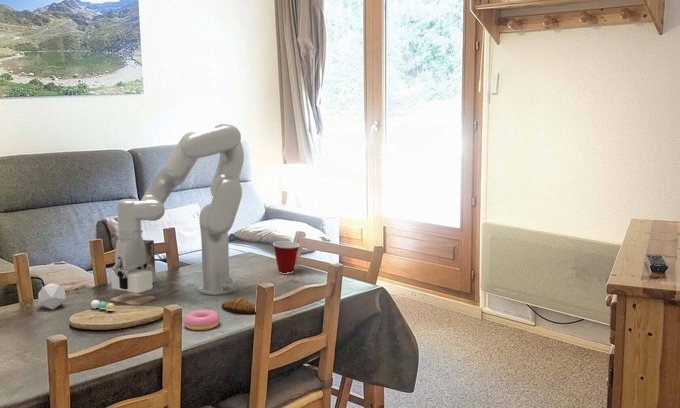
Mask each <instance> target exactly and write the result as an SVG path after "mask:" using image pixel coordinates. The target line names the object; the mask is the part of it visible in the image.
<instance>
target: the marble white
mask: <svg viewBox="0 0 680 408" xmlns="http://www.w3.org/2000/svg"><path fill="white" fill-rule="evenodd" d="M100 302H101V301H100V300H97V299H94V300H93V299H92V301H91V302H90V307H91V308H92V309H93V310H97V309H96V308H98V304H99V303H100ZM98 309H99V308H98Z"/></svg>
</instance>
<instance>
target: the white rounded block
mask: <svg viewBox="0 0 680 408" xmlns="http://www.w3.org/2000/svg"><path fill="white" fill-rule="evenodd" d="M123 272H124V270H123ZM123 272H122V273H123ZM110 275H111V276H110V277H111V278H110V279H111V289H113V290H118V291H125V292H128V293H129V292H130V293H136V294H140V293H143V292H145V291H147V290H148V291H149V290H151V289H153V287H154V285H153V283H152V271H147V270H141V269H135V268H133V269H129V270H128V272H127V275H126V278H127V282H128V289H121V288H120V283H119V277H118V276H117V275H116V274H115V272H114V271H113V270H111V271H110Z"/></svg>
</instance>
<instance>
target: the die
mask: <svg viewBox="0 0 680 408" xmlns="http://www.w3.org/2000/svg"><path fill="white" fill-rule="evenodd" d="M37 295H38V304H40V305H41V306H42V307H44V308H46V309H48V310H51V311H54V310H55V309H57V308H58V307H60V306H62V305H63V303H64V302H65V301H66V290H65V289H64V288H63V287H62V286H61V285H60V284H56V283H53V282H50V283H48V284H46V285H45V286H42V288H41V289H40V290H39V292H37Z"/></svg>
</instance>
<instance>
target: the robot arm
mask: <svg viewBox="0 0 680 408" xmlns="http://www.w3.org/2000/svg"><path fill="white" fill-rule="evenodd" d="M241 140H242V135H241V132H240V130H239V129H238V127H236V126H234V125H232V124H227V123H220V124H217V125H216V126H214V127H213V128H212V129H208V130H204V131H200V132H193V131H192V132H191V131H190V132H187V133H185V134H184V135H182V137H181V138H180V140H179V141H178V142H177V144H176V146H175V147H174V149H173V151H171V152H172V153H171V154H170V156H169V158H167V160H166V162H165V163H164V165H163V167H162V168H161V170H159V172H158V174H157V176H156V177H155V178H154V180H152V182H151V184H150V185H149V186H148V188H147V190H146V191H145V193H144V195H143V196H142V197H141V200H139V199H136V198H123V199H120V200H119V201H117V204H116V205H117V206H116V208H117V210H116V211H117V229H118V231H117V232H118V240H117V241H116V244H115V254H114V263H115V264H114V265H112V269H111V271H114V272H115V274H116V275H117V276H118V277H119V283H120V288H121V289H128V282H127V278H126V275H127V272H128V270H129V269H133V268H136V269H141V270H145V269H146V267H147V264H148V262H149V260H150V259H149V258H148V257H147V256H145V247H144V242H143V240H144V237H142V235H143V232H144V231H143V229H142V221H149V222H155V221H159V220H161V219H162V218H163V216H164V215H165V213H166V212H165V211H166V210H165V205H164V204H165V203H166V202H167V199H168V198H169V196H170V195H171V193H173V191H174V190H175V189H176V188H177V187H179V186H180V185H181V184H182V183H184V181H185V180H186V179H187V177H188V176H189V174H190V172H191V171H192V169H193V168H194V166H195V165H196V163H197V162H198V160H199V159H201V158H206V157H211V156H213V155H217V154H219V158H218V163H217V167H216V168H215V169H216V170H215V173H214V174H213V178H212V181H211V184H210V194H211V196H212V199H211V203H208V204H206V205H204V207H202V208H201V210H200V213H199V216H198V217H199V222H198V223H199V230H200V239H201V240H200V241H201V242H200V244H201V245H200V246H201V267H202V268H201V269H202V270H201V271H202V285H201V286H199V287H198V293H200V294H203V295H208V296H219V295H225V294H226V295H227V294H229V293H232V292H233V291H235V290H236V289H237V286H238V283H237V282H234V281H233V278H232V277H230V256H229V253H230V252H229V249H230V248H229V232H230V230H231V229H232V227H233V225H234V222H235V220H236V218H237V217H236V216H237V214H238V211H239V207H240V204H241V201H242V197H243V196H242V195H243V188H242V185H241V183H240V182H239V180H240V176H241V172H242V169H243V166H244V161H245V160H244V157H245V155H244V153H245V152H244V151H245V150H244V148H243V144H242V141H241ZM123 270H124V272H123ZM122 272H123V273H122Z"/></svg>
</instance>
